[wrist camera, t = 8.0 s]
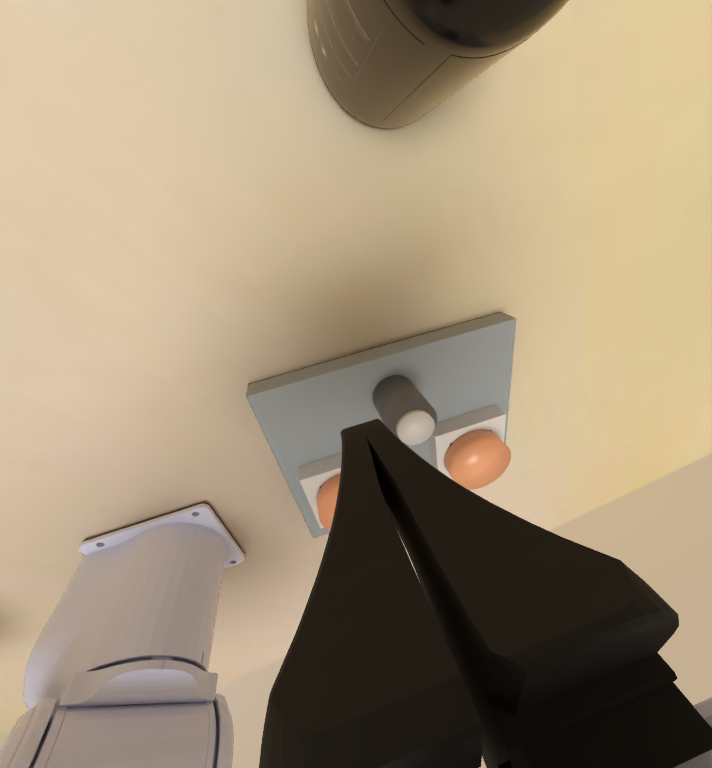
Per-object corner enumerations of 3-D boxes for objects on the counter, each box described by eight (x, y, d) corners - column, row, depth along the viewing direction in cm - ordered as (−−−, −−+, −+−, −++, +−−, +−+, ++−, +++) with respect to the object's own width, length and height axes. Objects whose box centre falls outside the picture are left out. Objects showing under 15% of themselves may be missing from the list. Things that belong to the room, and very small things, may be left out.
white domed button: (376, 418, 21) (395, 456, 18) (368, 382, 20) (388, 417, 16) (416, 405, 21) (442, 441, 18) (411, 369, 20) (440, 401, 16)
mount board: (311, 522, 27) (314, 552, 25) (248, 384, 19) (244, 408, 17) (492, 461, 29) (512, 483, 26) (500, 311, 21) (530, 324, 19)
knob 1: (320, 493, 26) (327, 540, 22) (305, 454, 23) (310, 500, 20) (371, 476, 26) (387, 519, 22) (361, 437, 24) (377, 478, 20)
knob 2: (429, 457, 27) (454, 496, 23) (425, 417, 24) (452, 453, 20) (476, 441, 27) (508, 477, 23) (477, 400, 25) (513, 433, 21)
